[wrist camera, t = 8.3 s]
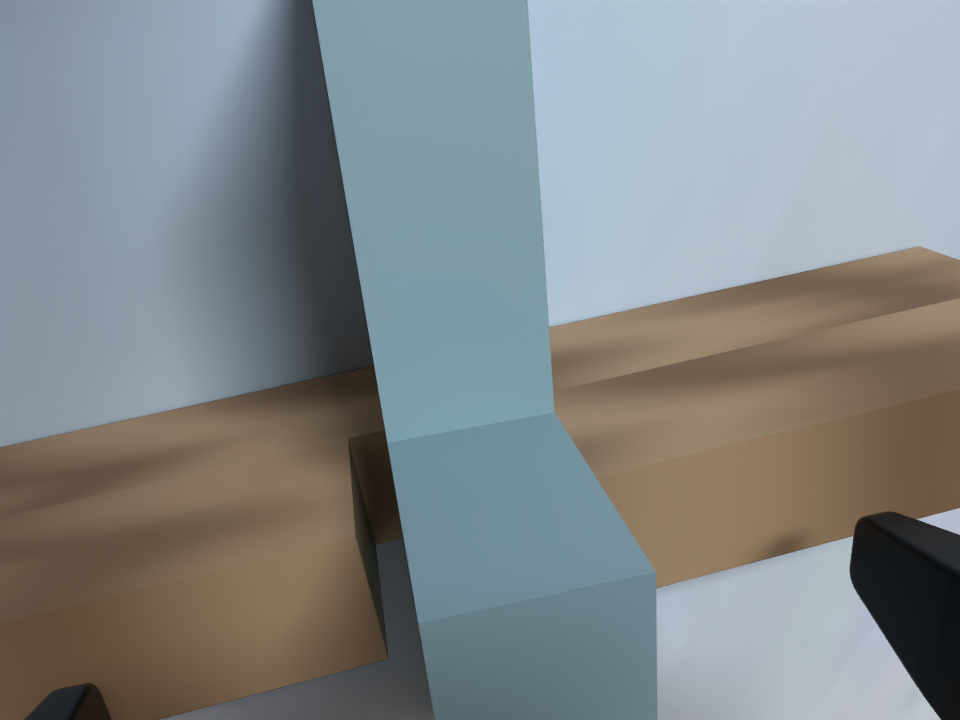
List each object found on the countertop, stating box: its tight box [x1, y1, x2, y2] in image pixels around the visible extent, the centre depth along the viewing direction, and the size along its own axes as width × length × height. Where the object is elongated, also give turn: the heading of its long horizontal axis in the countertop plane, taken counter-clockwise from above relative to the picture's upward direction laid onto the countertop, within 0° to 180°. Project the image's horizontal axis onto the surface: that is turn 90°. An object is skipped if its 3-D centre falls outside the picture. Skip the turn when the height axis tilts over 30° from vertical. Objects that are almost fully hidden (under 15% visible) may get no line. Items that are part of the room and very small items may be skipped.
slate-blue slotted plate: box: [312, 0, 657, 720], centre depth 11 cm, size 16×2×8 cm, turn 6°
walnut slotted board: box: [0, 247, 960, 720], centre depth 12 cm, size 20×2×5 cm, turn 99°
